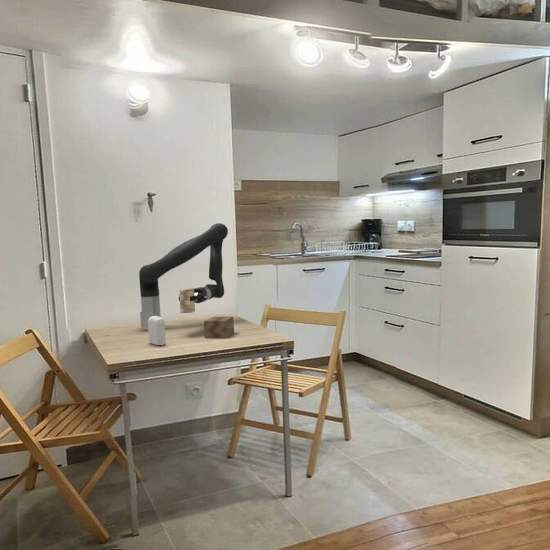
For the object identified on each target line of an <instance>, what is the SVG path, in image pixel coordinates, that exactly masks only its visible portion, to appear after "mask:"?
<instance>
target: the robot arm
mask: <svg viewBox="0 0 550 550" xmlns="http://www.w3.org/2000/svg"><path fill="white" fill-rule="evenodd" d="M228 234H229V230H228V227H227V226H226V225H225V224H224V223H220V222H219V223H217V222H216V223H215V224H213V225H211V226H210V228H208V229H207V230H206V231H205V232H203V233H202V234H199V235H198V236H196V237H192V238H190V239H189V240H186V241H184V242H182V243H181V244H179V245H178V246H176V247H174V248H173V249H171V250H170V251H169V252H168V253H166V254H165V255H164V256H163V257H161V258H160V259H158V260H156V261H154V262H152V263H150V264H145V265H143V266H142V267H140V270H139V273H138V276H139V277H138V278H139V289H140V291H139V292H140V305H141V310H140V312H139V313H140V314H139V315H140V330H141V331H148V319H149V318H150V317H152V316H159V317H161V318H162V316H161V314H162V313H161V302H160V301H161V300H160V298H161V297H160V287H159V279H160V278H162V276H163V275H165V274H166V273H168V272H169V271H171V270H173V269H175V268H177V267H179V266H181V265H183V264H186V263H188V261H190V260H192V259H194V258H195V257H197V256H198V255H199V254H200V253H202V252H203V251H204V250H206V249H207V248H209V249H210V250H209V251H210V252H209V265H208V266H209V268H208V279H209V280H212V281H215V284H212V283H207V284H205V286H200V287H196V288H194V296H191V297H190V301H195V304H200V303H204V302H206V301H209V300H211V299H213V298H214V299H221V298H223V297H224V294H225V286H224V282H223V254H222V253H223V250H222V249H223V242H224V240H225V239H226V238H227V236H228ZM178 301H179V302H180V294H179V295H178Z"/></svg>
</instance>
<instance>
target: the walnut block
mask: <svg viewBox="0 0 550 550" xmlns="http://www.w3.org/2000/svg"><path fill="white" fill-rule="evenodd" d="M234 324H235V322H234V316H212V317H209V318H207V319H206V320H203V329H204V339H226V337H227V338H228V337H230V336H232V335H233V334H235V325H234ZM232 333H233V334H232ZM231 334H232V335H231ZM229 335H230V336H229Z"/></svg>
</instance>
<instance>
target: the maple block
mask: <svg viewBox="0 0 550 550" xmlns="http://www.w3.org/2000/svg"><path fill="white" fill-rule="evenodd" d="M194 289H195V288H192V287H191V288H181V289H179V295H180V301H179V306H180V307H179V310H180V311H179V312H180V314H192V313H194V312H196V306H195V305H196V303H195V301H190V297H191V296H194Z"/></svg>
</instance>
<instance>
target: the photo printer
mask: <svg viewBox="0 0 550 550" xmlns="http://www.w3.org/2000/svg"><path fill="white" fill-rule="evenodd" d="M148 342H149V344H152V345H155V346H159V345H161V346H165V345H166V344H167V343H166V342H167V340H166V327H165V321H164V319H163V318H162V316H161V317H159V316H152V317H150V318H149V319H148ZM164 344H165V345H164Z"/></svg>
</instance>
